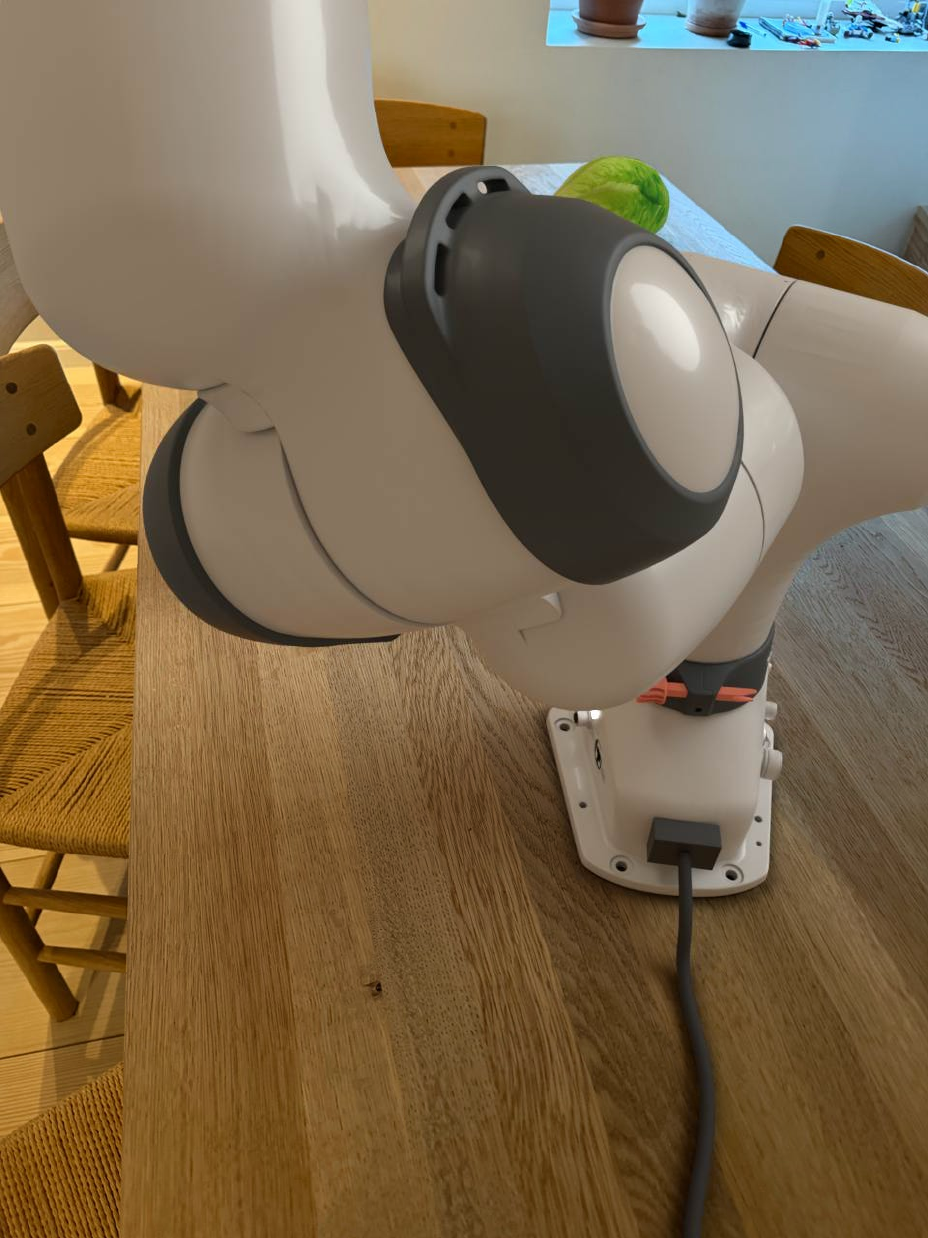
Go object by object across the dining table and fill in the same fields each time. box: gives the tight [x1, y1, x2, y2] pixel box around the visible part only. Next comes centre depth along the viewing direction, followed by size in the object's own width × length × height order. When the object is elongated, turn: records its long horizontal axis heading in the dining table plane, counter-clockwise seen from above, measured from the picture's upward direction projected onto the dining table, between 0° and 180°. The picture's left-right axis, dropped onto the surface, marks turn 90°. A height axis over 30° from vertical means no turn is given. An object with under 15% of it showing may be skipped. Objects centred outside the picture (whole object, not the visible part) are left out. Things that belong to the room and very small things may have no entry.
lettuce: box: [552, 155, 670, 235], centre depth 147 cm, size 15×20×14 cm
